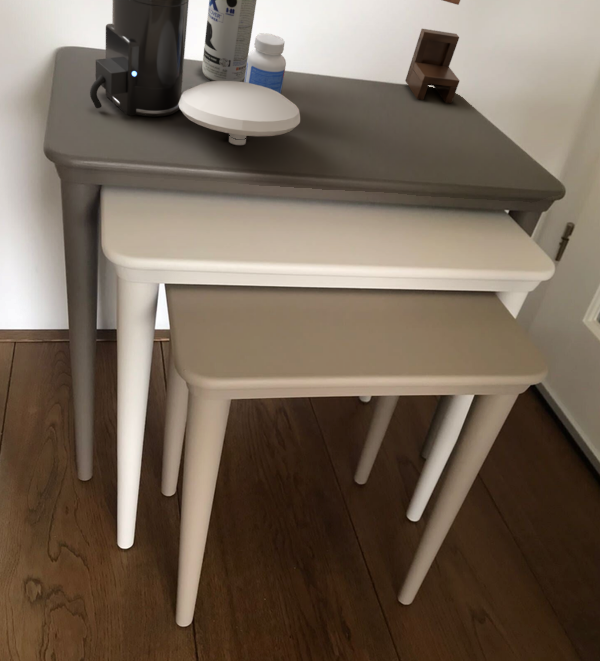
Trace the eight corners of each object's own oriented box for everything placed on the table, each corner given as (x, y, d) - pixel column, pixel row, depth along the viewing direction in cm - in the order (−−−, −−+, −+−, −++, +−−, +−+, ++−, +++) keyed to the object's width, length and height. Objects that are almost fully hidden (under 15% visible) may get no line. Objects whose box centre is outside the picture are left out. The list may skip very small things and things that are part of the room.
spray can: (196, 65, 104) (210, -80, 90) (238, 67, 106) (257, -74, 93) (207, 84, 99) (224, -65, 86) (250, 86, 102) (273, -59, 89)
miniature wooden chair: (416, 99, 112) (434, 45, 105) (405, 80, 116) (421, 28, 110) (451, 103, 113) (471, 50, 107) (438, 85, 118) (456, 33, 112)
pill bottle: (284, 114, 97) (297, 47, 90) (252, 117, 94) (263, 48, 88) (266, 96, 100) (277, 30, 94) (234, 99, 97) (243, 31, 91)
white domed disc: (157, 70, 85) (155, 125, 89) (219, 109, 75) (215, 169, 79) (260, 70, 94) (255, 120, 98) (328, 104, 84) (319, 158, 88)
